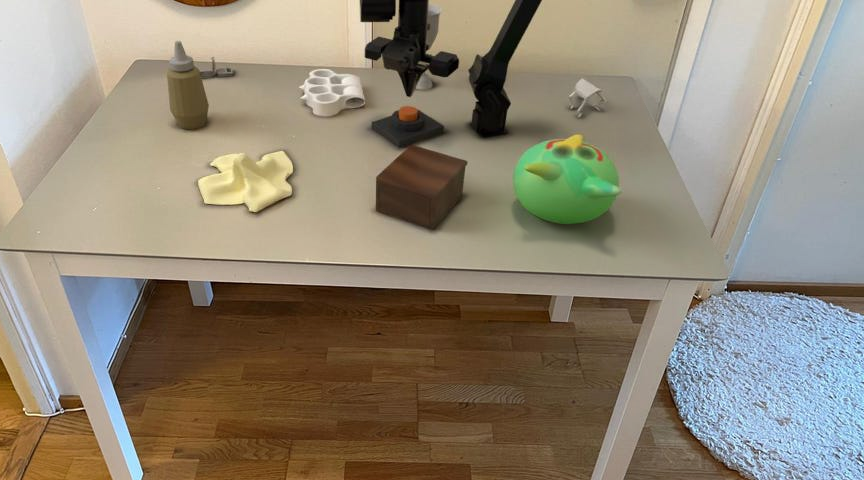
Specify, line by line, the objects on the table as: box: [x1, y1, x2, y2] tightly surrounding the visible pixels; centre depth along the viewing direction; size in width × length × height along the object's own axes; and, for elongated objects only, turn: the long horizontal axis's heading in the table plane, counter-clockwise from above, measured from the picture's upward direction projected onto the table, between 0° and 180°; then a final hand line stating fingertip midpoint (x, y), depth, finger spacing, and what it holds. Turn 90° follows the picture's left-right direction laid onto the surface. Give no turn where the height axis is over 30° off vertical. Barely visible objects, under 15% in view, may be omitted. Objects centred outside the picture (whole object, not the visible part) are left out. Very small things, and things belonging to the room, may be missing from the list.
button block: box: [371, 107, 445, 149], centre depth 146 cm, size 12×10×4 cm
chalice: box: [415, 3, 443, 90], centre depth 159 cm, size 7×7×18 cm
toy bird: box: [512, 133, 623, 225], centre depth 119 cm, size 18×17×15 cm
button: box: [398, 105, 419, 121], centre depth 145 cm, size 4×4×2 cm
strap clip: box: [200, 56, 234, 79], centre depth 165 cm, size 8×3×4 cm, turn 104°
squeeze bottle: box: [166, 40, 210, 130], centre depth 142 cm, size 8×8×18 cm
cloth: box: [197, 150, 294, 213], centre depth 129 cm, size 22×19×6 cm
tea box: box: [375, 167, 466, 231], centre depth 124 cm, size 13×12×6 cm
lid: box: [375, 144, 468, 199], centre depth 122 cm, size 13×12×1 cm
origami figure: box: [568, 77, 608, 118], centre depth 156 cm, size 12×8×5 cm
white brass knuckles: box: [298, 68, 366, 118], centre depth 157 cm, size 3×18×15 cm
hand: (409, 96), depth 142 cm, fingers closed
